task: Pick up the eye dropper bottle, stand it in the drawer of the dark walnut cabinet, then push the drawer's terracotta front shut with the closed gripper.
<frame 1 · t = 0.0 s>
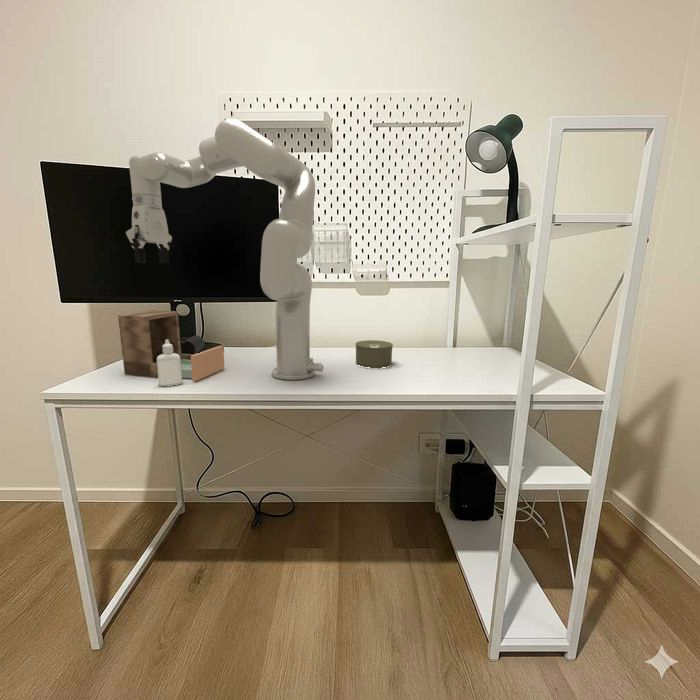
hand: (153, 262, 118), 31 cm above the table, tool pointing down, fingers open, 9 cm apart
end cap: (190, 357, 133), on the table
cabinet: (163, 371, 115), on the table
drawer: (188, 360, 112), point 4 cm above the table, slide at 8.0 cm
eye dropper bottle: (171, 385, 103), on the table
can: (373, 365, 127), on the table
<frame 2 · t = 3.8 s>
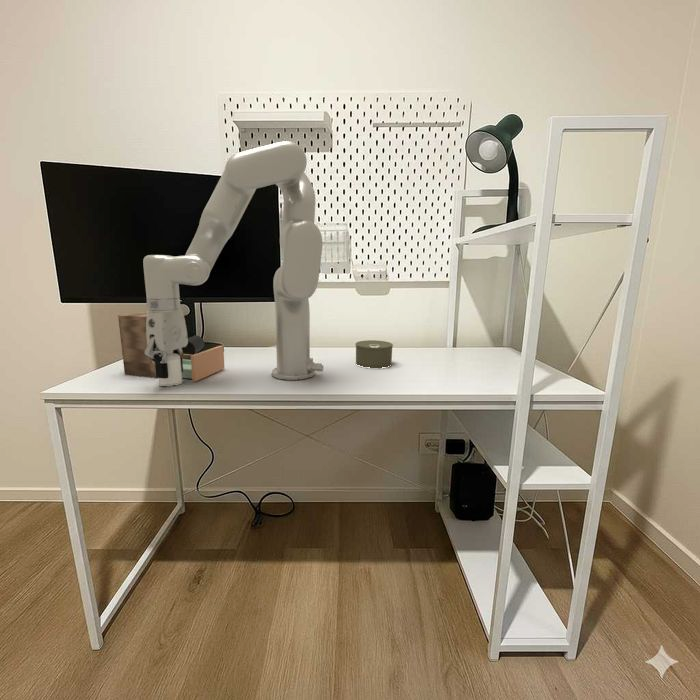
hand: (170, 374, 102), 3 cm above the table, tool pointing down, fingers closed on eye dropper bottle, 5 cm apart
eye dropper bottle: (171, 385, 103), on the table, touching gripper
everything else where it was.
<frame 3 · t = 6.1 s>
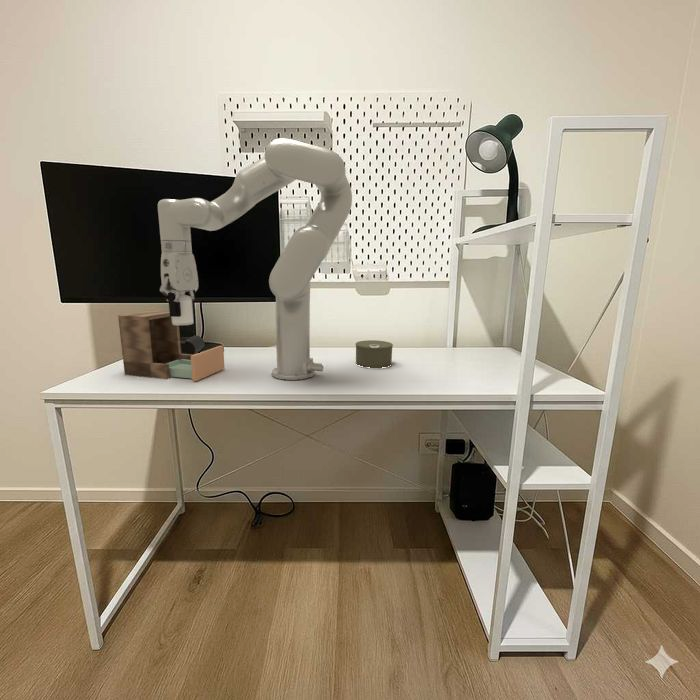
hand: (182, 314, 109), 17 cm above the table, tool pointing down, fingers closed on eye dropper bottle, 5 cm apart
eye dropper bottle: (183, 325, 110), point 14 cm above the table, touching gripper
everything else where it was.
when the fingers open (6 cm above the table, at t = 8.6 s): eye dropper bottle drops 1 cm, resting on drawer.
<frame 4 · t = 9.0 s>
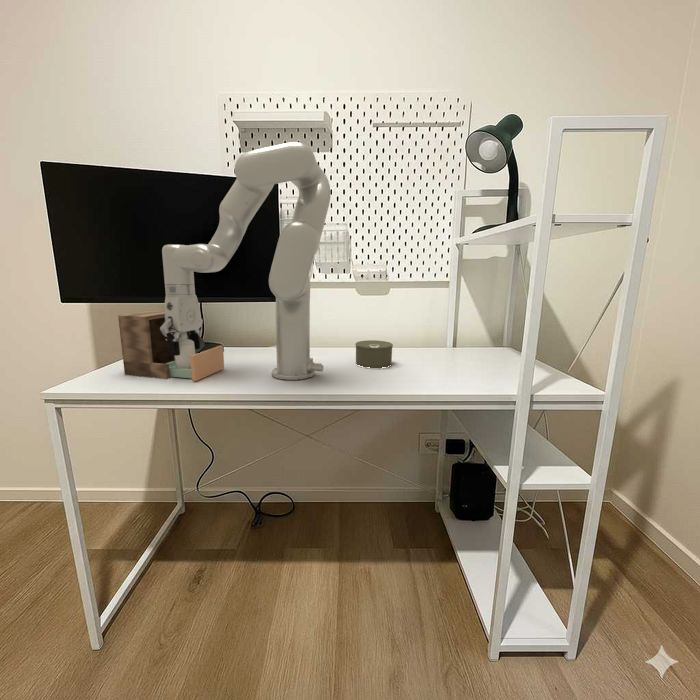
hand: (185, 351, 112), 6 cm above the table, tool pointing down, fingers open, 8 cm apart
drawer: (188, 360, 112), point 4 cm above the table, slide at 7.9 cm, touching eye dropper bottle
eye dropper bottle: (186, 368, 113), point 1 cm above the table, touching drawer
everything else where it was.
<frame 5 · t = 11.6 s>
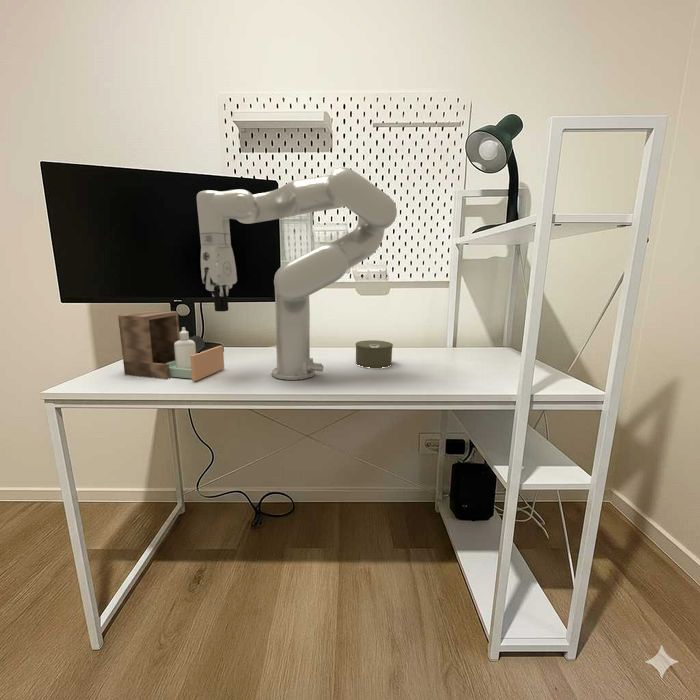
hand: (221, 310, 107), 19 cm above the table, tool pointing down, fingers closed
nothing on the table moved.
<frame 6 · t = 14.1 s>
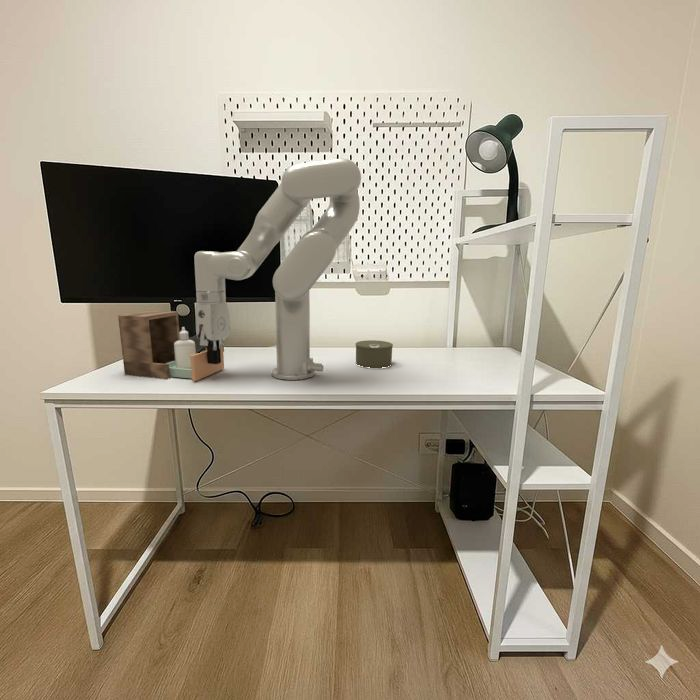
hand: (214, 363, 110), 4 cm above the table, tool pointing down, fingers closed
drawer: (188, 360, 112), point 4 cm above the table, slide at 7.9 cm, touching eye dropper bottle, gripper
everything else where it was.
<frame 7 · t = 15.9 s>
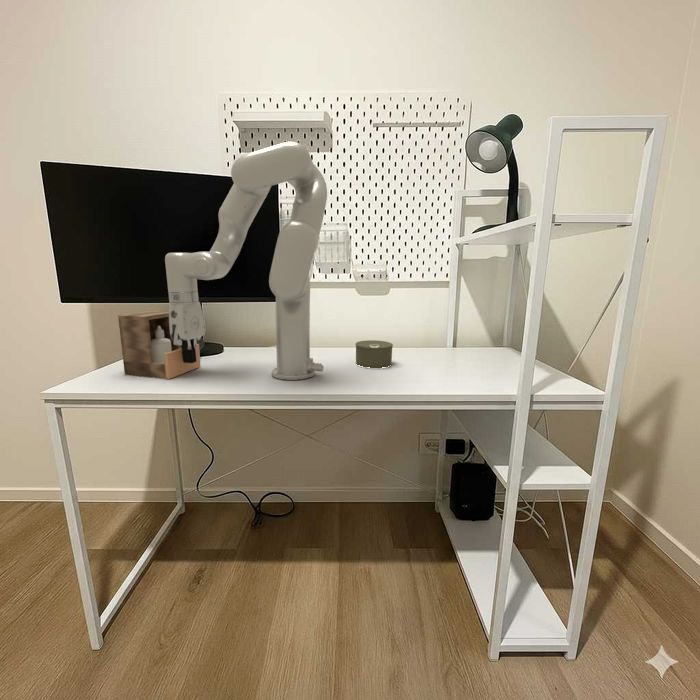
hand: (190, 362, 112), 3 cm above the table, tool pointing down, fingers closed
drawer: (164, 358, 114), point 4 cm above the table, slide at -0.3 cm, touching eye dropper bottle, gripper
eye dropper bottle: (162, 366, 115), point 1 cm above the table, touching drawer
everything else where it was.
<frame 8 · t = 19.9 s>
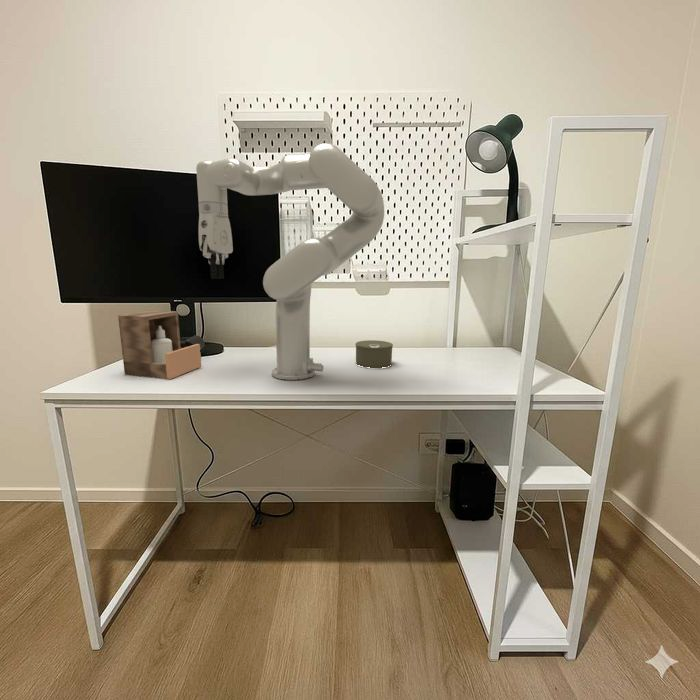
hand: (217, 278, 111), 27 cm above the table, tool pointing down, fingers closed
drawer: (165, 358, 114), point 4 cm above the table, slide at 0.0 cm, touching eye dropper bottle
everything else where it was.
at the end: drawer slide at 0.0 cm; eye dropper bottle inside the target area on the cabinet (0.6 cm from its centre), point 1.3 cm above the cabinet's base; eye dropper bottle tilted 0° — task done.
